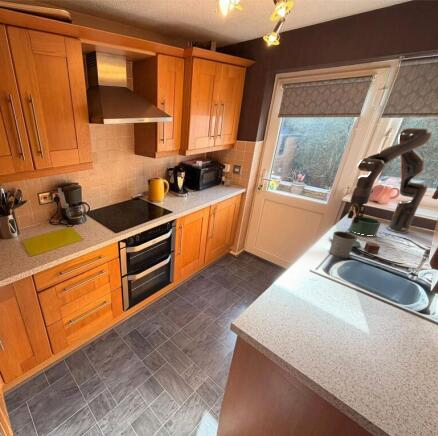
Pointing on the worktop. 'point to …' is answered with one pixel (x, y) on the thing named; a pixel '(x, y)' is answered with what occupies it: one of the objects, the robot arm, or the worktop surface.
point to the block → (372, 247)
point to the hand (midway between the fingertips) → (352, 220)
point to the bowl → (353, 245)
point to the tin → (365, 227)
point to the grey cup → (342, 244)
